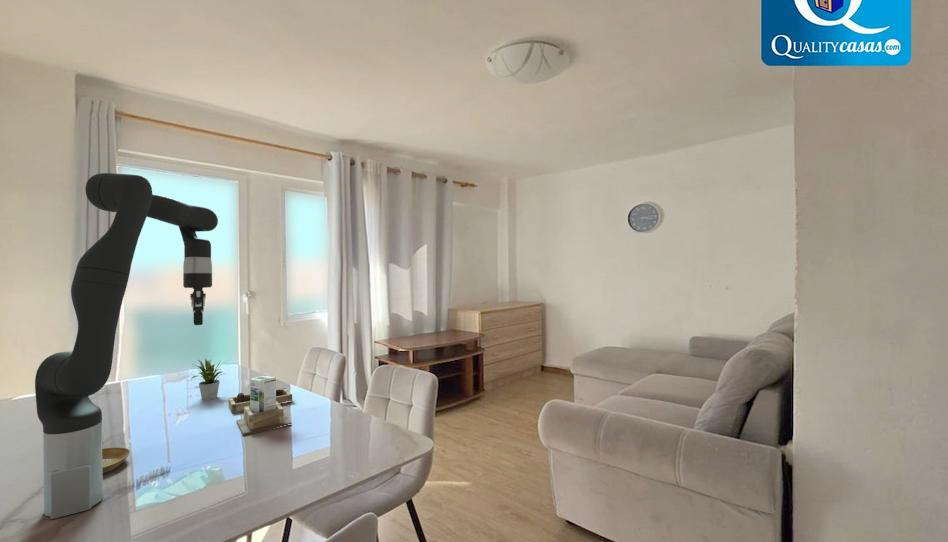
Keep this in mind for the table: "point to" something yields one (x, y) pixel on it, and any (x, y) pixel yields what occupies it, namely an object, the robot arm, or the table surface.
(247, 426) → the socket
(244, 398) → the bolt
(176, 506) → the table surface
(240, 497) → the table surface
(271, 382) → the syrup box
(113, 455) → the plant saucer
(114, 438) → the table surface
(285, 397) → the bolt rack
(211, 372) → the house plant
